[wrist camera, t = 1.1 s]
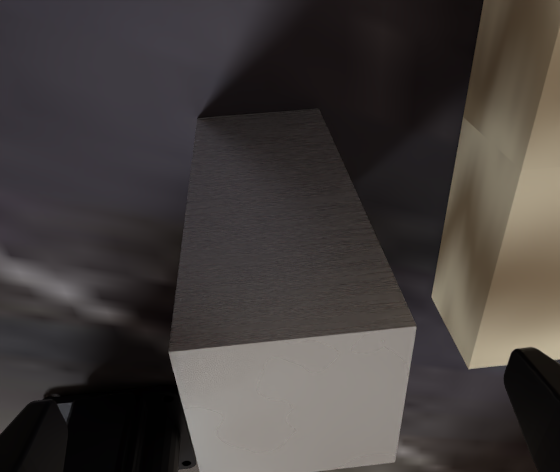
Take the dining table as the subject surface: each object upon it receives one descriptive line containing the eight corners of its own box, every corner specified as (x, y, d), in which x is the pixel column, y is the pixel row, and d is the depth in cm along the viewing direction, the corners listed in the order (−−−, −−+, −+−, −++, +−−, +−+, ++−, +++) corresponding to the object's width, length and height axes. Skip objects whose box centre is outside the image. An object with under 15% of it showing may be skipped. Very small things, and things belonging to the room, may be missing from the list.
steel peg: (318, 210, 18) (394, 462, 10) (212, 220, 18) (203, 484, 10) (318, 108, 16) (416, 326, 8) (197, 118, 16) (168, 351, 8)
